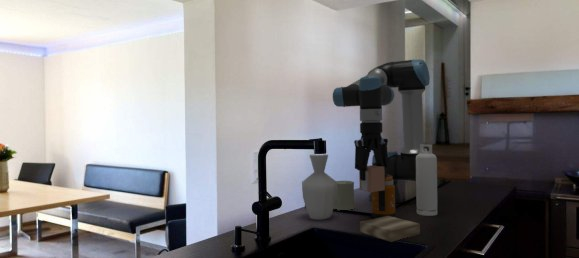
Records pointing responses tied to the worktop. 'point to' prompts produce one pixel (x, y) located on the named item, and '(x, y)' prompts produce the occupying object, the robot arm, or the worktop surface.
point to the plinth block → (390, 228)
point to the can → (344, 195)
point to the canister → (384, 199)
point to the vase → (319, 190)
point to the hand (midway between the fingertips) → (372, 188)
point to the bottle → (426, 182)
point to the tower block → (375, 178)
